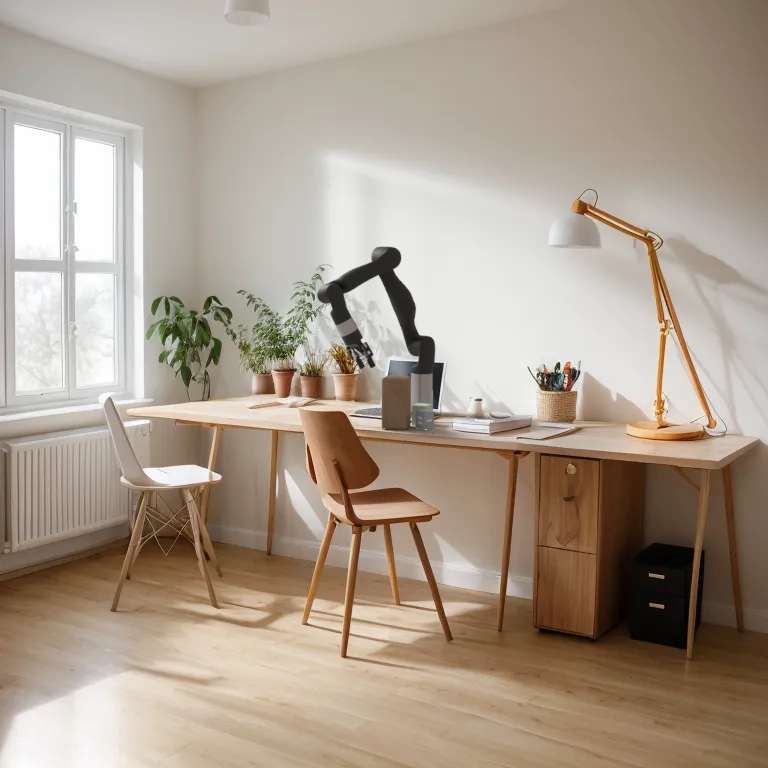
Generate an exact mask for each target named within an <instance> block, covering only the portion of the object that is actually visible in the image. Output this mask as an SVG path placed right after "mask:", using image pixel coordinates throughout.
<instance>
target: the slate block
mask: <svg viewBox="0 0 768 768" xmlns="http://www.w3.org/2000/svg"><path fill="white" fill-rule="evenodd" d="M416 428H418V429H417V430H420V429H423V430H422V431H426V430H425V429H430V430H434V429H435V411H434V410H433V411H431V410H426V409H425V410H418V411H416V425H415V429H416Z"/></svg>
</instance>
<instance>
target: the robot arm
mask: <svg viewBox="0 0 768 768" xmlns="http://www.w3.org/2000/svg"><path fill="white" fill-rule="evenodd" d="M401 262H402V253H401V251H400V250H399V249H398V248H396V247H394V246H376V247H375V248H374V249H373V250H372V252H371V261H370V262H368V263H365V264H363V265H360V266H357V267H355V268H352V269H350V270H347V272H344V273H343V274H342V275H340V276H339V277H337V278H336V279H334V280H332V281H329V282H328V283H325V284H324V285H322V286H320V288H318V290H317V293H316V298H317V299H318V301H319V302H320V303H322V304H325V305H326V304H330V306H331V310H330V317H331V319H332V321H333V323H334V325H335V327H336V329H337V330H336V331H338V332H337V333H338V334H339V336H340V337H341V339H342V342H343V344H344V346H345V350H346V352H347V353H348V355H349V358H350V359H351V361H354V362H355V363H356V364H357V366H358V368H359V369H360V370H362V369H364V368H365V363H364V362H363V360H362V358H361V357H363V358H364V359H365V360H366V363H367V365H368V366H369V368H370V369H373V368H374V367H376V364H375V361H374V359H373V358H372V357H373V356H374V353H373V351H372V349H371V347H370V345H369V344H368V342H367V341H365V342H363V341H362V339H363V337H364V336H363V335H362V332H361V331H360V329H359V327H358V325H357V323H356V321H355V319H354V318H353V317H352V315H351V313H350V310H349V309H348V307H347V303H346V298H345V294H348V293H350V292H352V291H354V290H356V289H357V288H358V287H360V286H362V285H363V284H365V283H367V282H368V281H370V280H372V279H374V278H376V277H379V279H380V281H381V283H382V285H383V286H384V289H385V292H386V294H387V296H388V298H389V302H390V304H391V307H392V310H393V311H394V314H395V317H396V319H397V321H398V324H399V327H400V329H401V332H402V335H403V339H404V342H405V346H406V349H407V352H408V353H409V354H410V355H411V356H413V357H417V358H418V360H417V363H416V364H414V365H412V366H410V377H411V412H412V405H414V404H416V403H426V404H432V411H434V390H433V374H434V373H433V371H434V367H435V364H436V363H435V361H436V343H435V342H436V341H435V340H434V338H433V337H432V336H429V335H422V334H421V335H420V333H419V331H418V329H417V325H416V322H415V319H416V313H417V305H416V303H415V300H414V297H413V295H412V292H411V291H410V290H409V289H408V287H407V286H406V284H404V282H402V281H401V279H400V278H399V277H398V276H397V274H396V272H395V270H394V269H397V268H398V267H399V266H400V264H401Z"/></svg>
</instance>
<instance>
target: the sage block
mask: <svg viewBox="0 0 768 768" xmlns="http://www.w3.org/2000/svg"><path fill="white" fill-rule="evenodd" d="M425 409H426V410H431V411H432V404H426V403H416V404H414V405H412V413H411V425H412V426H416V411H418V410H425Z"/></svg>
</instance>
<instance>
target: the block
mask: <svg viewBox="0 0 768 768" xmlns="http://www.w3.org/2000/svg"><path fill="white" fill-rule="evenodd" d="M411 425H412V413H411V375H394V374H393V375H392V374H391V375H386V376H384V377H383V378H382V379H381V429H383V428H385V429H384V430H392V429H398V430H397V431H401V430H402V431H405V430H407V429H409V427H410V426H411Z"/></svg>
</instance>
